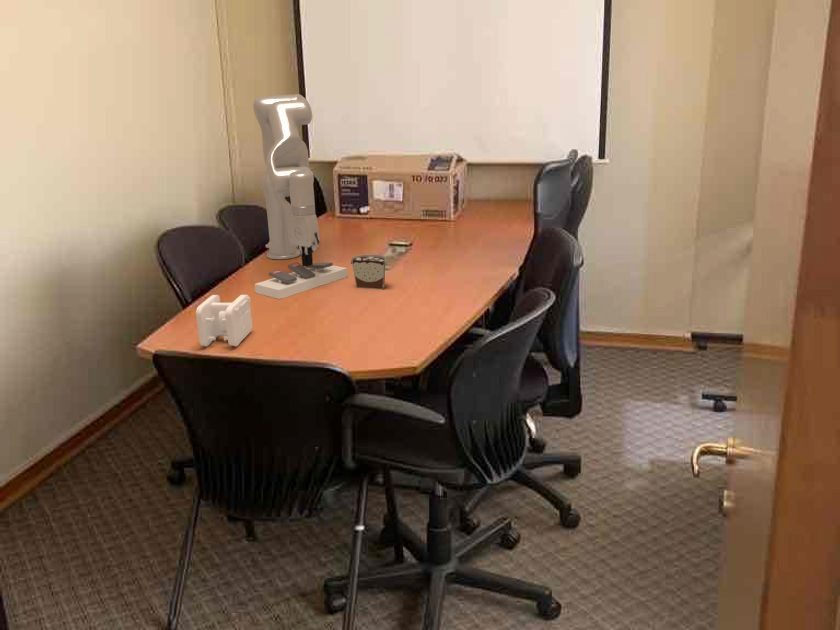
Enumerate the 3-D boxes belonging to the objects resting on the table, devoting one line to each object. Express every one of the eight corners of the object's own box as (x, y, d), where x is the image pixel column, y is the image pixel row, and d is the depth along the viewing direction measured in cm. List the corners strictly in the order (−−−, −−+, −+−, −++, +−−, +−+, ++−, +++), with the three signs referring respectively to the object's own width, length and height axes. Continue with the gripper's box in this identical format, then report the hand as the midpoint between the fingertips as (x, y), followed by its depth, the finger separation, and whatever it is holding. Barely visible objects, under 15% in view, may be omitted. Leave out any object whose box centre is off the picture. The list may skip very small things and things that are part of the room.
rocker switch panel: (255, 292, 283) (254, 281, 282) (323, 271, 304) (322, 260, 303) (279, 299, 275) (278, 287, 274) (347, 276, 297) (346, 265, 295)
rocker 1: (268, 275, 284) (268, 272, 284) (278, 272, 287) (278, 269, 286) (287, 283, 279) (287, 280, 278) (296, 280, 282) (296, 277, 281)
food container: (394, 284, 286) (392, 254, 283) (387, 290, 280) (385, 259, 277) (359, 282, 290) (357, 253, 287) (352, 287, 284) (350, 258, 281)
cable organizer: (219, 330, 249) (214, 291, 246) (255, 331, 248) (250, 292, 244) (199, 349, 235) (194, 308, 231) (237, 350, 234) (232, 309, 230)
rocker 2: (287, 267, 289) (288, 264, 289) (296, 264, 292) (297, 261, 292) (305, 279, 285) (306, 276, 284) (314, 276, 288) (315, 273, 287)
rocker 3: (306, 267, 296) (305, 264, 295) (315, 265, 298) (314, 261, 298) (324, 268, 290) (323, 264, 289) (332, 265, 292) (332, 262, 292)
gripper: (279, 209, 282) (283, 264, 288) (310, 215, 272) (314, 271, 278) (296, 205, 287) (300, 259, 293) (327, 211, 278) (331, 266, 284)
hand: (307, 265), depth 286 cm, fingers closed
